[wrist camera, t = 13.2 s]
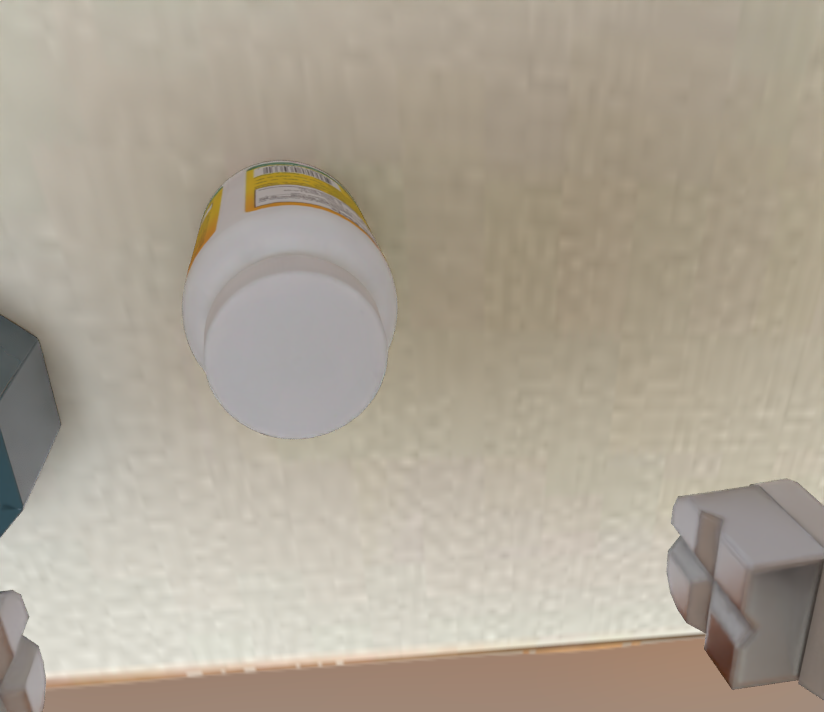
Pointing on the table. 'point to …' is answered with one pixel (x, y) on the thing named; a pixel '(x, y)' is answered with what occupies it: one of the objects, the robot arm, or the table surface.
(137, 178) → the table surface
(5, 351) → the holder
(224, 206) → the supplement bottle
